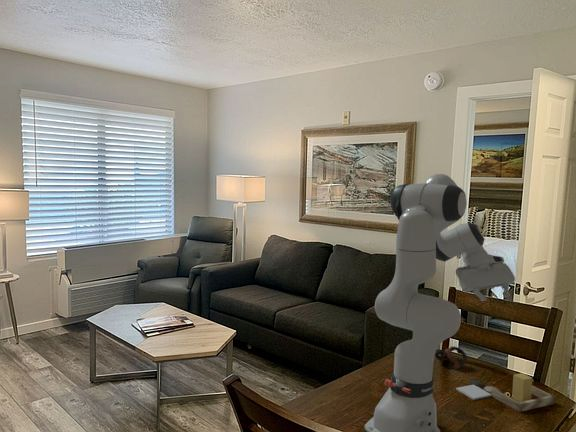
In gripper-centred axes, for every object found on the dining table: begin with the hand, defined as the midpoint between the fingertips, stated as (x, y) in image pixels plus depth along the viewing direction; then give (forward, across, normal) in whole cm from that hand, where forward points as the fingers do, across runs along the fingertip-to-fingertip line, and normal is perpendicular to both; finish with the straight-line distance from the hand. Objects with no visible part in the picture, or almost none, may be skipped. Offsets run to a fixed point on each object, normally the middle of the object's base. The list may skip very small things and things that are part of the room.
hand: (495, 298), depth 157 cm
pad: (+26, -14, +15) cm, 33 cm away
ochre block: (+32, 0, +11) cm, 34 cm away
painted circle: (+26, -6, +17) cm, 32 cm away
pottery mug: (+12, -8, +34) cm, 38 cm away
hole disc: (+23, -8, +21) cm, 32 cm away
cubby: (+32, 0, +11) cm, 34 cm away
